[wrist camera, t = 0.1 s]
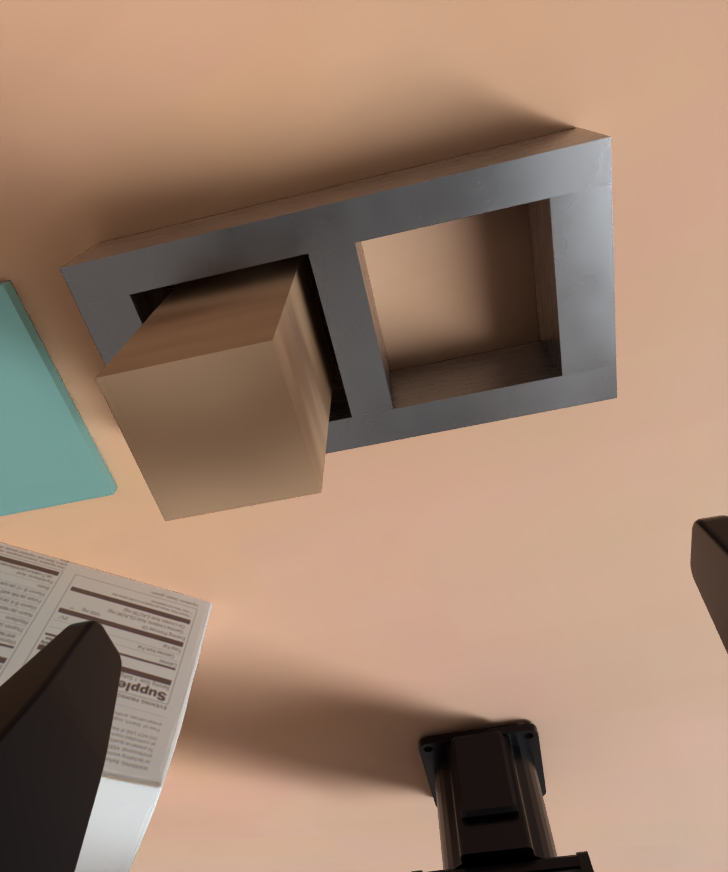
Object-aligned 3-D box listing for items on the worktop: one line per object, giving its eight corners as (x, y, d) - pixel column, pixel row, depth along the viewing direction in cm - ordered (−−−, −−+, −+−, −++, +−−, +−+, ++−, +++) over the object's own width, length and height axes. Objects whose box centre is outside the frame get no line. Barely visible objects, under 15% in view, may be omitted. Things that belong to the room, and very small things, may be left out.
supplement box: (145, 787, 38) (86, 983, 30) (-86, 736, 35) (-220, 935, 27) (220, 599, 30) (165, 797, 22) (-72, 516, 27) (-256, 705, 19)
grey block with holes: (588, 360, 23) (616, 397, 21) (183, 441, 25) (162, 484, 22) (577, 127, 19) (610, 136, 17) (97, 243, 21) (59, 268, 18)
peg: (334, 367, 23) (321, 492, 17) (223, 390, 24) (165, 521, 17) (303, 252, 21) (272, 339, 14) (181, 279, 22) (95, 378, 15)
